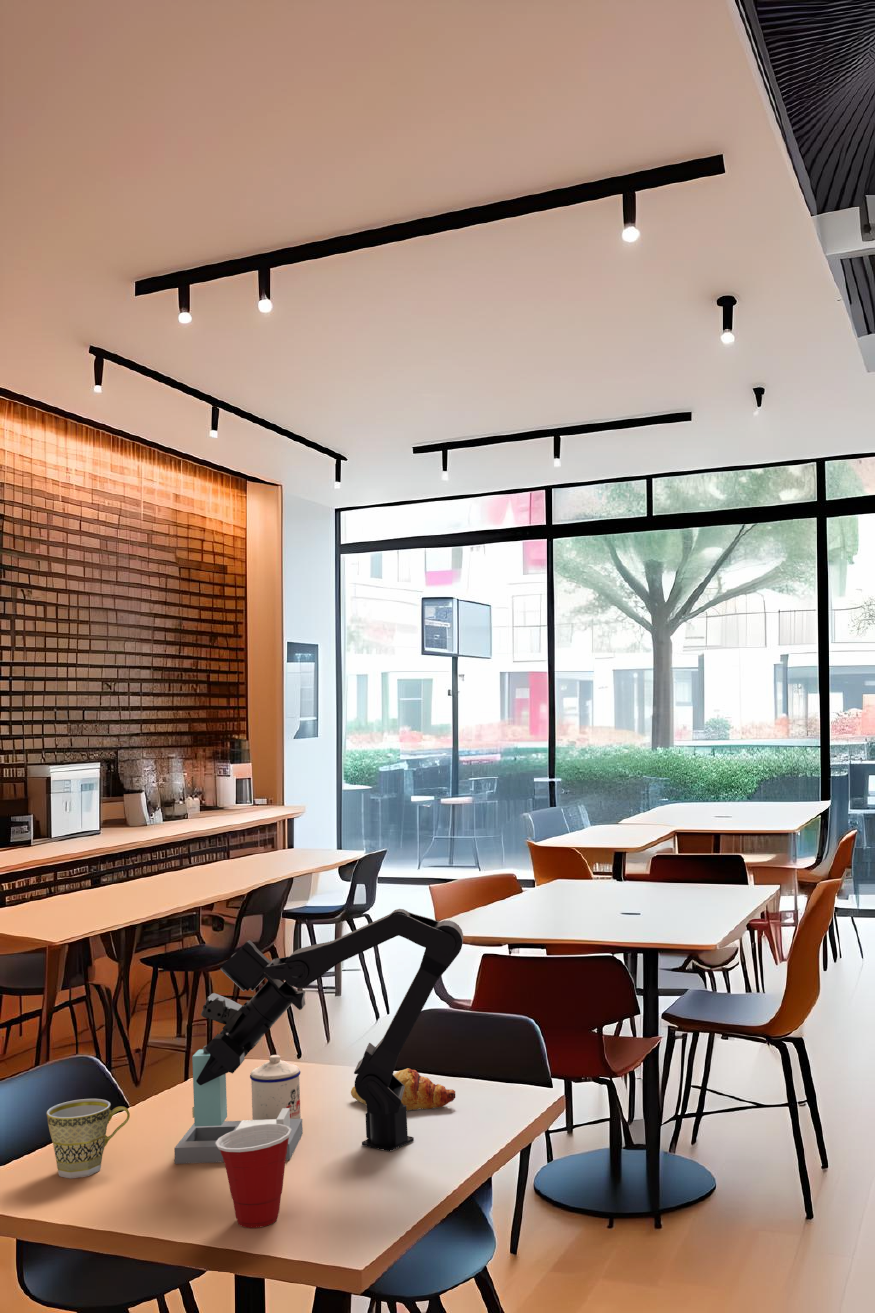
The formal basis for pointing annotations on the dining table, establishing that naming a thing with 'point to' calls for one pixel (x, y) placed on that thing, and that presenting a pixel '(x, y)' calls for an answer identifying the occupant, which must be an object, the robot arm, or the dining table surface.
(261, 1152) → the plastic cup
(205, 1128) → the socket plate
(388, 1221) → the dining table surface
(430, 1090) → the croissant
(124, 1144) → the dining table surface
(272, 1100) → the teacup with lid
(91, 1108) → the ceramic cup
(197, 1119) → the teal rectangular bottle
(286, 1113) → the panel
